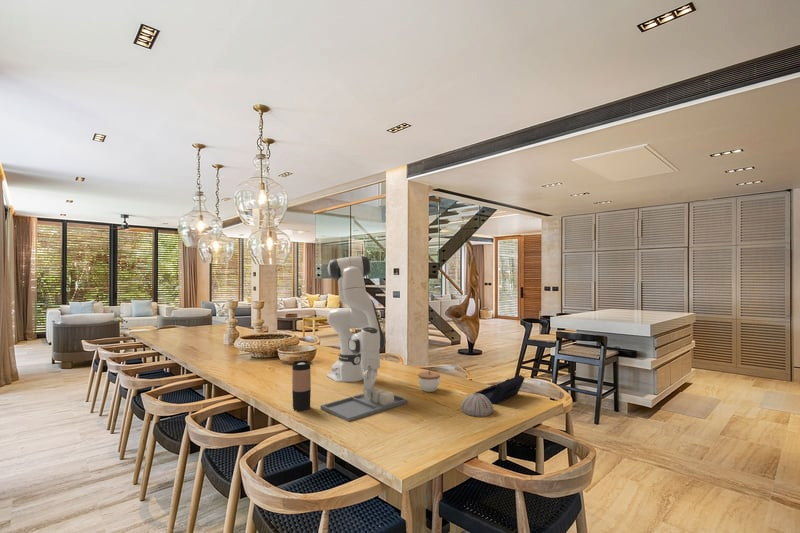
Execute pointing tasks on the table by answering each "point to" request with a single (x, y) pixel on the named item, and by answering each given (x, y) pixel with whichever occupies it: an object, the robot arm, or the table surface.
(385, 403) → the limestone block
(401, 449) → the table surface
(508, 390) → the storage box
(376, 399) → the limestone block
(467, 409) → the sea urchin shell
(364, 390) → the limestone block
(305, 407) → the travel mug
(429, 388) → the lidded jar
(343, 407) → the divided tray
